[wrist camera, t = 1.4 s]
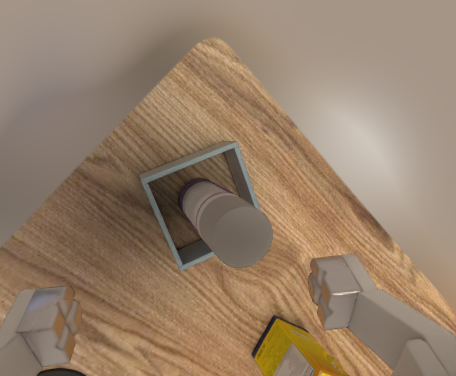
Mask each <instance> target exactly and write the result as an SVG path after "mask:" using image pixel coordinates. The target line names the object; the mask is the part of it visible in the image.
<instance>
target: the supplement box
mask: <svg viewBox="0 0 456 376" xmlns="http://www.w3.org/2000/svg"><path fill="white" fill-rule="evenodd" d="M252 355H253V357H254V359H255V361H256V363H257V364H258V366H259V368H260V370H261V371H262V373H263V375H264V376H349V375H348V374H347V373H346V372H345V371H344V370H343V368H342V367H341V366H340V365H339V364H338V363H337V362H336V361H335V360H334V359H333V358H332V357H331V356H330V355H329V354H328V353H327V351H326V350H325V349H324V348H323V347H322V346H321V345H320V344H319V343H318V342H317V341H316V340H315V339H314V338H313V337H312V335H311V334H310V333H309V332H308V331H307V330H305V329H303V328H300V327H298V326H296V325H294V324H292V323H289V322H287V321H285V320H283V319H281V318H278V317H276V316H274V317H273V319H272V321H271V322H270V324H269V326H268V328H267V329H266V331H265V333H264V335H263V336H262V338H261V340H260V342H259V344H258V345H257V347H256V349H255V351H254V352H253V354H252Z"/></svg>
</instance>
